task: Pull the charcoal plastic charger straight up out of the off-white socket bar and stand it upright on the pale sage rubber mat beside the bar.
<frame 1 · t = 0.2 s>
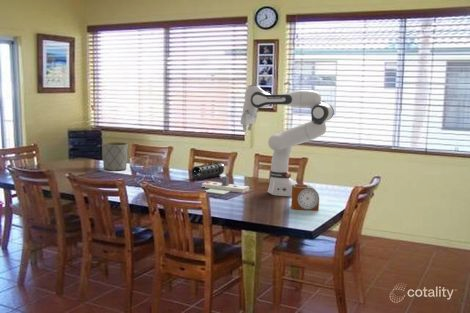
hand: (246, 130, 349), 39 cm above the table, tool pointing down, fingers open, 8 cm apart
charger: (225, 188, 351), resting in socket bar
alarm clock: (304, 208, 304), on the table
planter: (115, 169, 409), on the table
mat: (216, 191, 340), on the table
socket bar: (225, 188, 351), on the table
muzzle brake: (208, 178, 389), on the table
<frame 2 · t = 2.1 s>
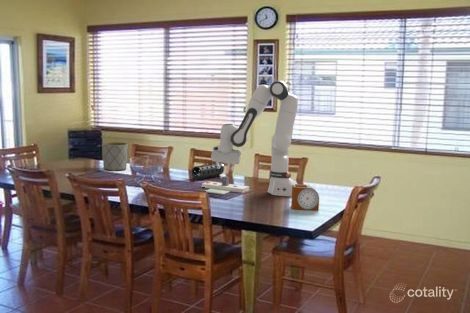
hand: (225, 169, 349), 13 cm above the table, tool pointing down, fingers open, 8 cm apart
nothing on the table moved.
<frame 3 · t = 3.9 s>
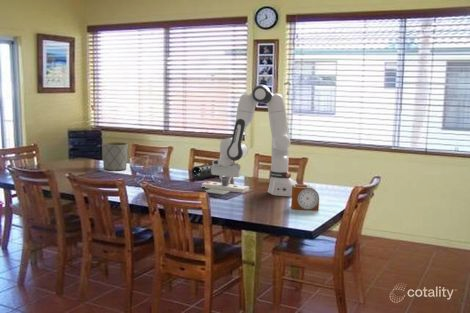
hand: (225, 182, 350), 4 cm above the table, tool pointing down, fingers closed on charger, 3 cm apart
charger: (225, 188, 351), resting in socket bar, touching gripper
everything else where it was.
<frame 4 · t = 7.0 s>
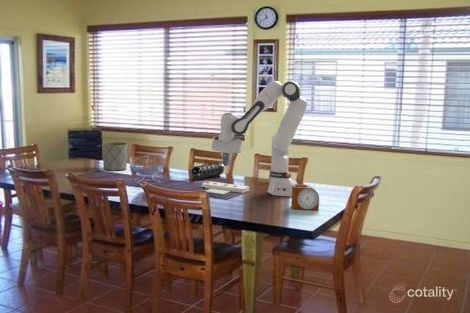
hand: (226, 158, 348), 20 cm above the table, tool pointing down, fingers closed on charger, 3 cm apart
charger: (226, 165, 348), point 16 cm above the table, touching gripper
everything else where it was.
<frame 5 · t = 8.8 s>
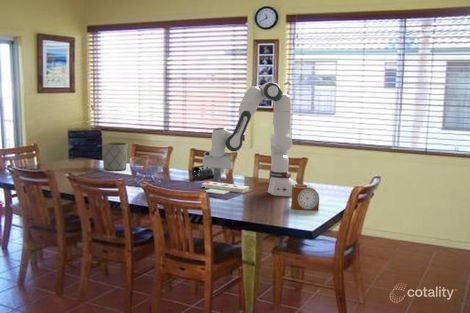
hand: (217, 174, 338), 11 cm above the table, tool pointing down, fingers closed on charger, 3 cm apart
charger: (217, 181, 339), point 7 cm above the table, touching gripper
everything else where it was.
when the fingers open (6 cm above the table, at t = 10.3 s): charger stays where it is, resting on mat.
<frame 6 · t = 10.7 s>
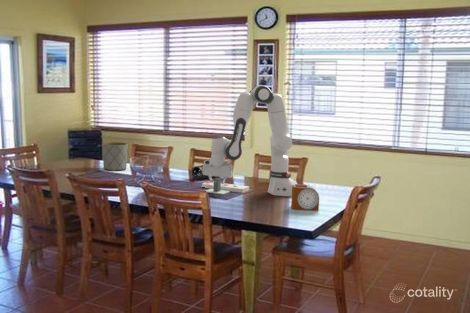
hand: (217, 183, 339), 6 cm above the table, tool pointing down, fingers open, 7 cm apart
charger: (217, 191, 340), resting on mat
everything else where it was.
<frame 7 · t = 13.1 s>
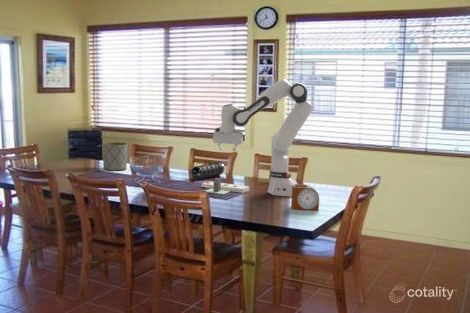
hand: (227, 150, 346), 26 cm above the table, tool pointing down, fingers open, 8 cm apart
nothing on the table moved.
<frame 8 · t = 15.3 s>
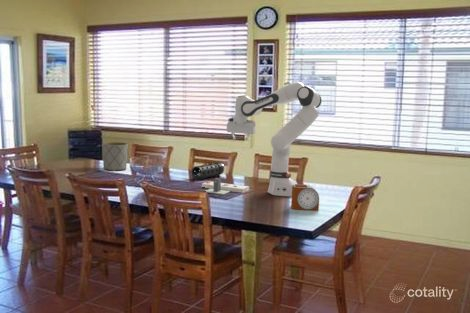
hand: (240, 139, 361), 31 cm above the table, tool pointing down, fingers open, 8 cm apart
nothing on the table moved.
at the end: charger inside the target area on the mat (0.1 cm from its centre), point 0.5 cm above the mat's base; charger tilted 0°; the gripper is holding nothing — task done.
